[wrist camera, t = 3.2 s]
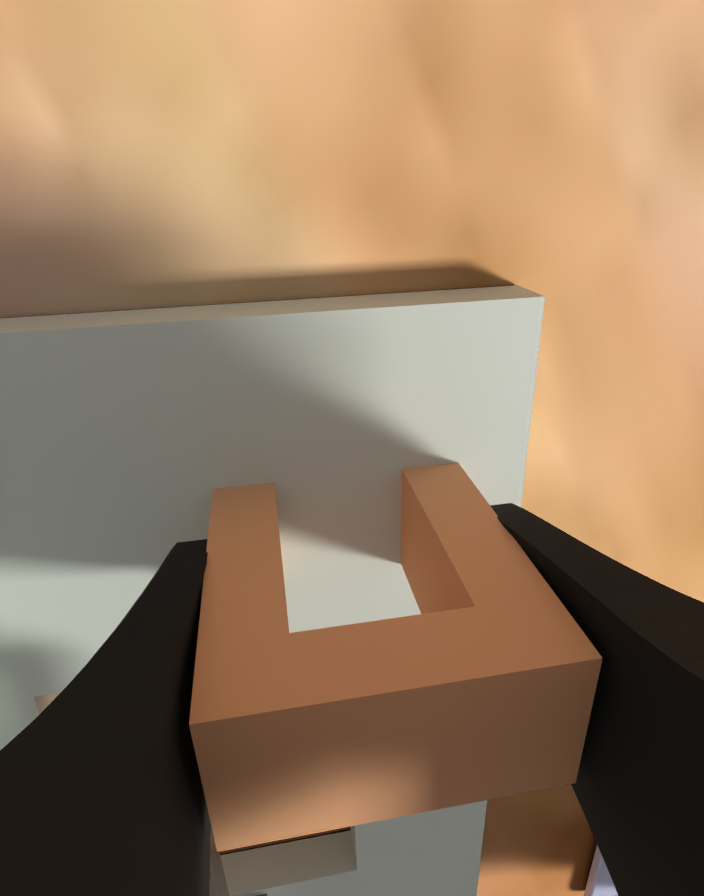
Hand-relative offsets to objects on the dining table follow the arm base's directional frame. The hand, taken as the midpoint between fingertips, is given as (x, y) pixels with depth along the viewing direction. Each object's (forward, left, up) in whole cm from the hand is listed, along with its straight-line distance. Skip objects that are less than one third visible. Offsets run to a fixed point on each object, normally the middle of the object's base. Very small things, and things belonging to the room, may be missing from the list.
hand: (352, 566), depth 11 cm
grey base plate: (+3, +6, -3) cm, 7 cm away
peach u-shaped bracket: (0, 0, -1) cm, 1 cm away
